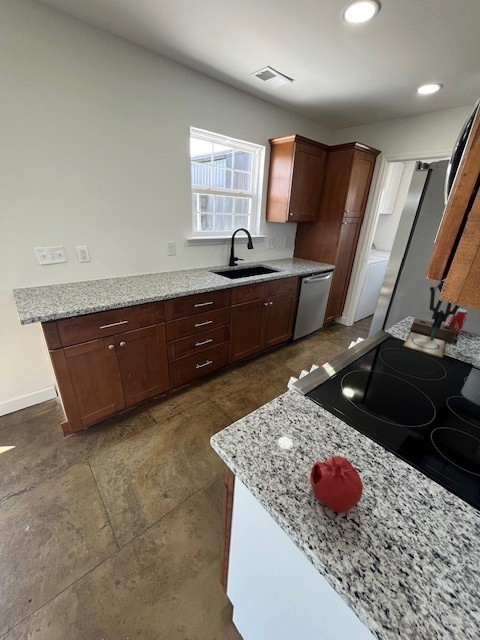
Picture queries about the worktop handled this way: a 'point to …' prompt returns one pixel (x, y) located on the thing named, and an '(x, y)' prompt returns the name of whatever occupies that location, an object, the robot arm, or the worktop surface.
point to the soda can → (457, 319)
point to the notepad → (425, 344)
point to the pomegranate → (336, 484)
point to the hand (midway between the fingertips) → (436, 327)
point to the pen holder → (426, 329)
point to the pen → (436, 325)
